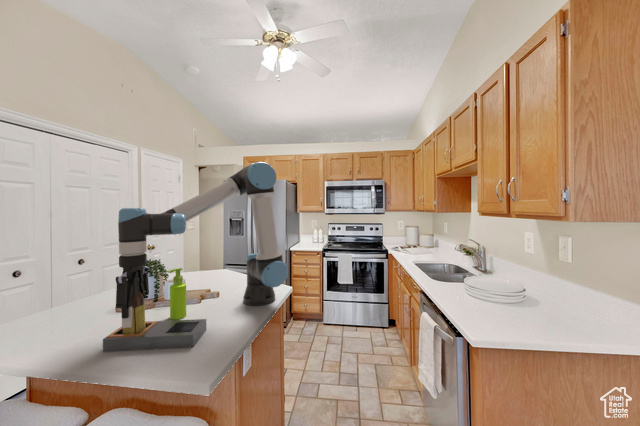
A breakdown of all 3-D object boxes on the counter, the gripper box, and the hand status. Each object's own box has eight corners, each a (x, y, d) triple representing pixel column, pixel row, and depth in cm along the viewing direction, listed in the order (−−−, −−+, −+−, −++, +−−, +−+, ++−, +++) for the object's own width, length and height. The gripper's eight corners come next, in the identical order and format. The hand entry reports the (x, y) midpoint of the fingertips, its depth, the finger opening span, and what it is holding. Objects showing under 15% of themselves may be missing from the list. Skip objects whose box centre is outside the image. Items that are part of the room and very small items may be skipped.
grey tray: (206, 329, 94) (206, 318, 94) (193, 347, 82) (193, 333, 82) (128, 333, 91) (128, 321, 91) (102, 351, 79) (102, 338, 79)
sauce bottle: (144, 330, 90) (144, 274, 90) (146, 337, 86) (145, 278, 85) (121, 336, 86) (121, 277, 86) (122, 343, 81) (121, 281, 81)
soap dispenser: (164, 318, 104) (164, 269, 103) (180, 312, 110) (180, 266, 110) (173, 321, 101) (172, 271, 101) (189, 315, 107) (189, 267, 107)
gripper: (138, 249, 95) (139, 311, 95) (99, 259, 76) (100, 337, 76) (160, 249, 96) (160, 310, 96) (126, 259, 77) (127, 335, 77)
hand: (133, 322), depth 86 cm, fingers closed on sauce bottle, 6 cm apart
